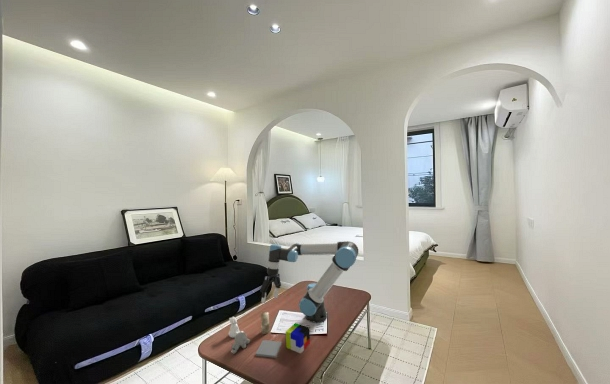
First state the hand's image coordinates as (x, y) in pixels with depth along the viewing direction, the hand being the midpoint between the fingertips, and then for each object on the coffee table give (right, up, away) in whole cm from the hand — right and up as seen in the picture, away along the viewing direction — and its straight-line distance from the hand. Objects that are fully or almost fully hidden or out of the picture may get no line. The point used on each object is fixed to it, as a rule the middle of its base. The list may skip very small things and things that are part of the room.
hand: (269, 300), depth 173 cm
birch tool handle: (-2, -18, -5) cm, 19 cm away
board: (+3, -19, -22) cm, 30 cm away
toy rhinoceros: (-15, -20, -21) cm, 33 cm away
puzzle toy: (+20, -19, -20) cm, 34 cm away
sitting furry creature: (-21, -19, -7) cm, 29 cm away
